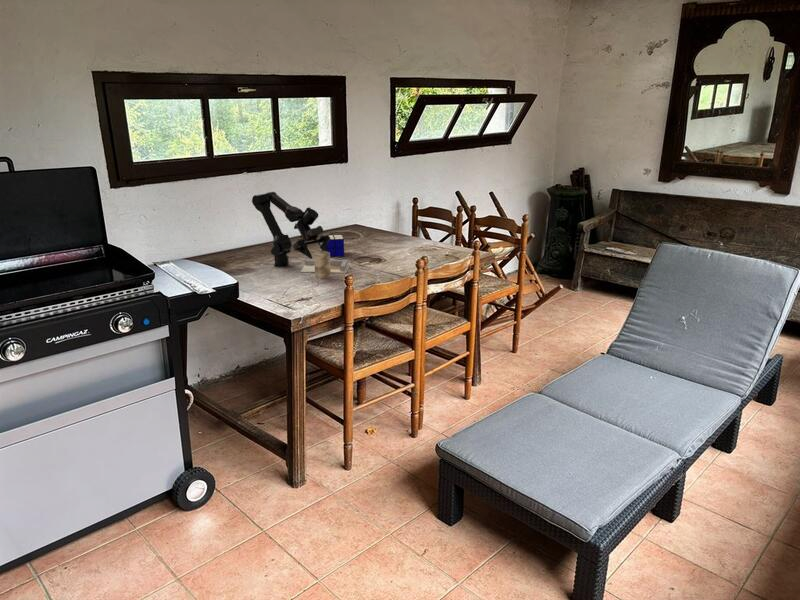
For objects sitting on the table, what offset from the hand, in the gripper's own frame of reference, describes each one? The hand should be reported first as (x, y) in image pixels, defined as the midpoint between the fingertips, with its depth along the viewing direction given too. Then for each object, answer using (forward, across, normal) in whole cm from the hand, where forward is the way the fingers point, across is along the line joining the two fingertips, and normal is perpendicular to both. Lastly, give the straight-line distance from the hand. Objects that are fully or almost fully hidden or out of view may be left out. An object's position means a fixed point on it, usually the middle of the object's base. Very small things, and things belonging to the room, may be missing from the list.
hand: (319, 256), depth 291 cm
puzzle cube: (-14, +30, +28) cm, 44 cm away
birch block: (+8, 0, +5) cm, 10 cm away
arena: (+1, +9, +12) cm, 15 cm away
